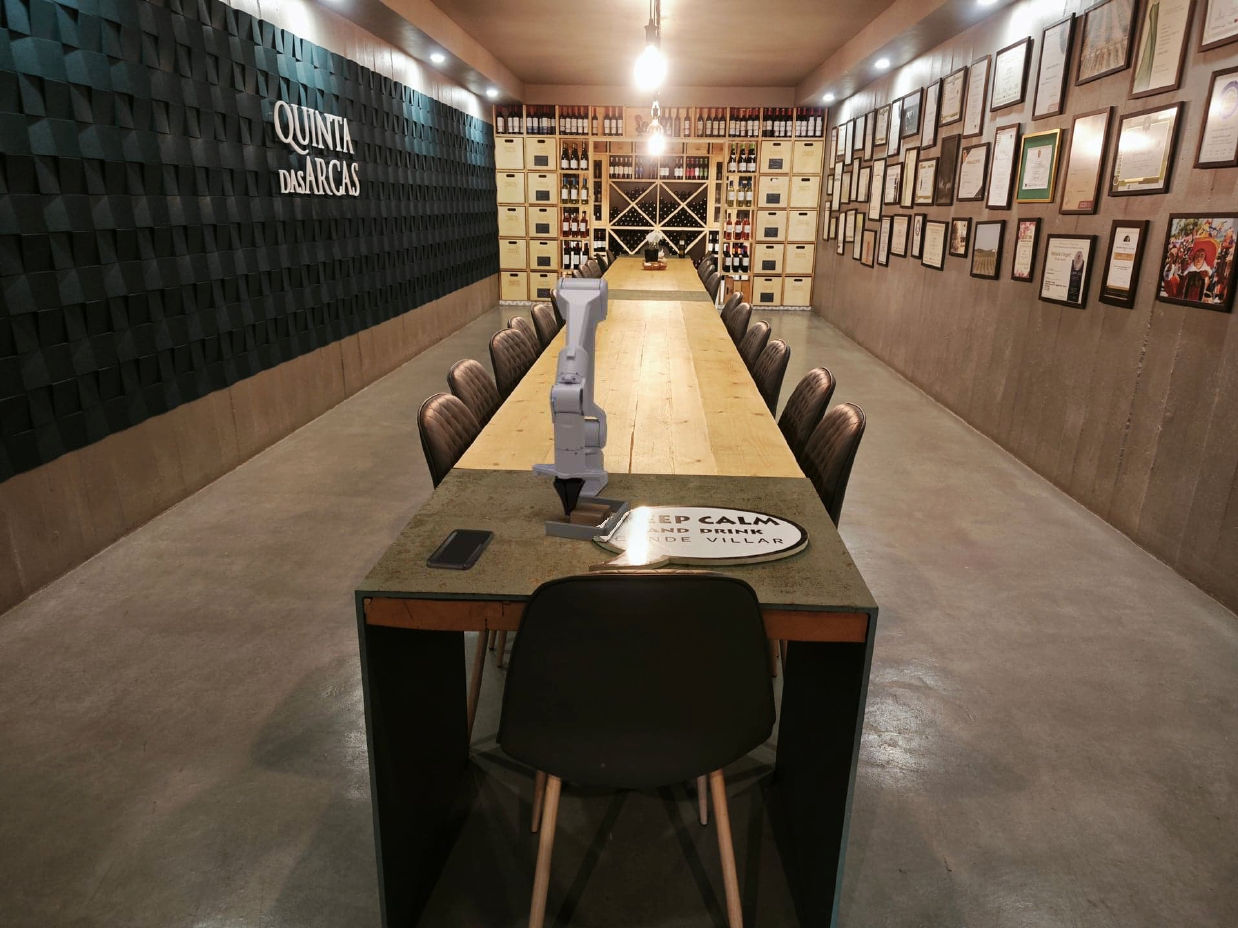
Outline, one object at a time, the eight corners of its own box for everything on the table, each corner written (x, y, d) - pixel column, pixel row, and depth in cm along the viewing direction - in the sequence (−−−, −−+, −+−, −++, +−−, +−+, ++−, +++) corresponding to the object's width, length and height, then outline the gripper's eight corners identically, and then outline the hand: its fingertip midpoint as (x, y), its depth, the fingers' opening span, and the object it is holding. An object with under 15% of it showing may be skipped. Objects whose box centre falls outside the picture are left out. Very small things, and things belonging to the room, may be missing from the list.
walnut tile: (581, 516, 153) (580, 502, 153) (610, 520, 152) (610, 505, 151) (570, 527, 148) (570, 513, 147) (600, 531, 146) (600, 516, 145)
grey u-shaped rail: (574, 505, 159) (574, 494, 158) (630, 512, 155) (630, 500, 155) (545, 534, 144) (545, 522, 144) (606, 542, 141) (606, 530, 140)
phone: (424, 563, 131) (454, 528, 145) (424, 569, 131) (455, 534, 145) (469, 566, 130) (496, 531, 144) (469, 572, 130) (496, 536, 144)
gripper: (524, 448, 144) (527, 517, 149) (599, 456, 141) (599, 526, 145) (539, 438, 151) (541, 504, 155) (611, 445, 147) (611, 512, 151)
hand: (570, 514), depth 150 cm, fingers closed
